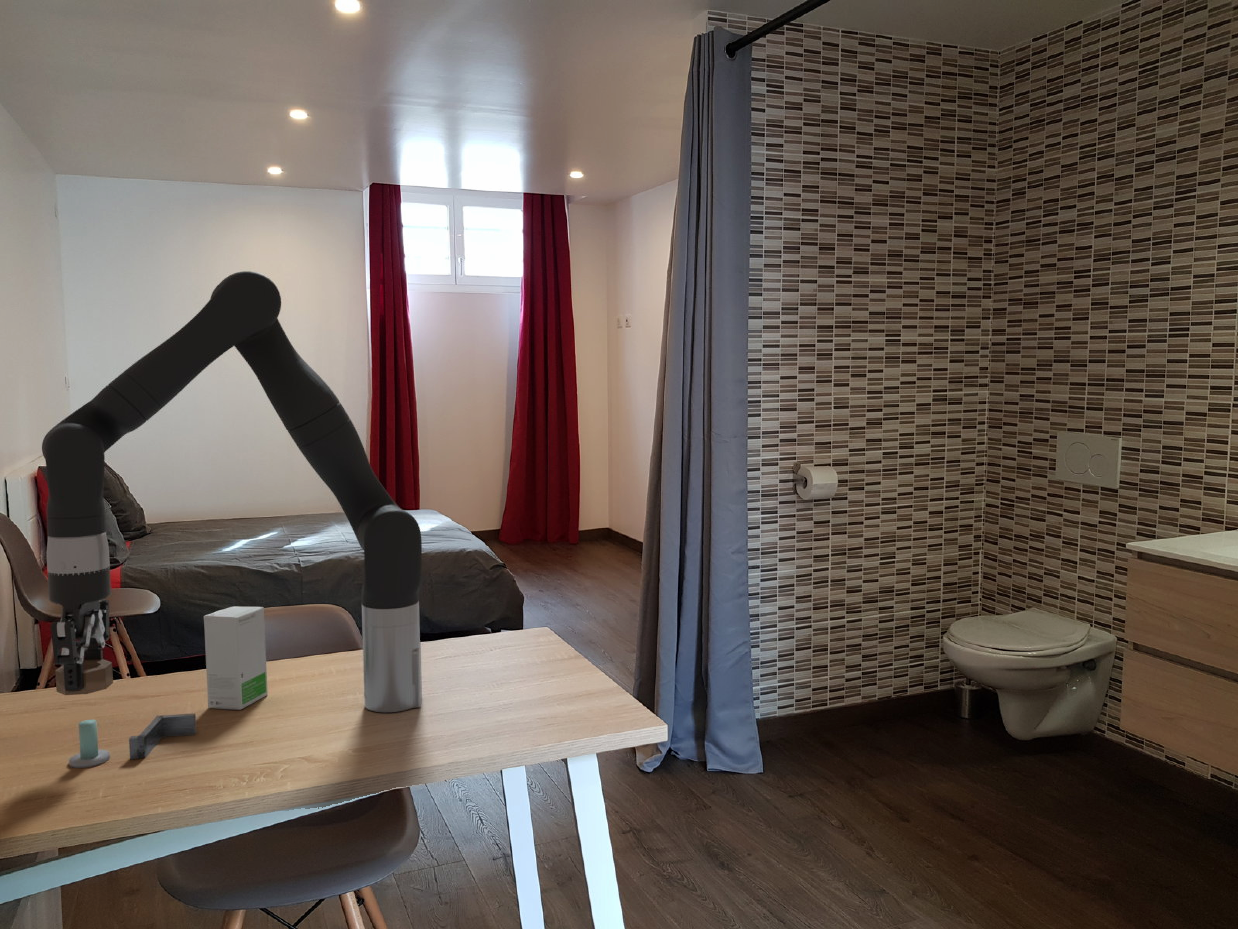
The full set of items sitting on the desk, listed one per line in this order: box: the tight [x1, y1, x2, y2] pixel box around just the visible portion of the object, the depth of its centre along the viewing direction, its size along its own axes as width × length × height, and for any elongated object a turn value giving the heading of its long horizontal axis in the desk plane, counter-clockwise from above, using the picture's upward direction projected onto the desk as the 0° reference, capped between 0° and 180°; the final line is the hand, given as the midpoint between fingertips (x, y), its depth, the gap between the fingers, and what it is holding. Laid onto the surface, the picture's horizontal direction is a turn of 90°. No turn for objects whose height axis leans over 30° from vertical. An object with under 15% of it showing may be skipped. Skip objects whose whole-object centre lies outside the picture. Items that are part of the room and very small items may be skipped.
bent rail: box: [128, 713, 197, 760], centre depth 135 cm, size 6×9×3 cm
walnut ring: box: [55, 658, 114, 696], centre depth 129 cm, size 6×6×3 cm
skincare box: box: [203, 605, 268, 711], centre depth 153 cm, size 8×7×16 cm
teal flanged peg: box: [68, 719, 111, 769], centre depth 130 cm, size 5×5×6 cm
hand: (84, 682), depth 129 cm, fingers closed on walnut ring, 6 cm apart
